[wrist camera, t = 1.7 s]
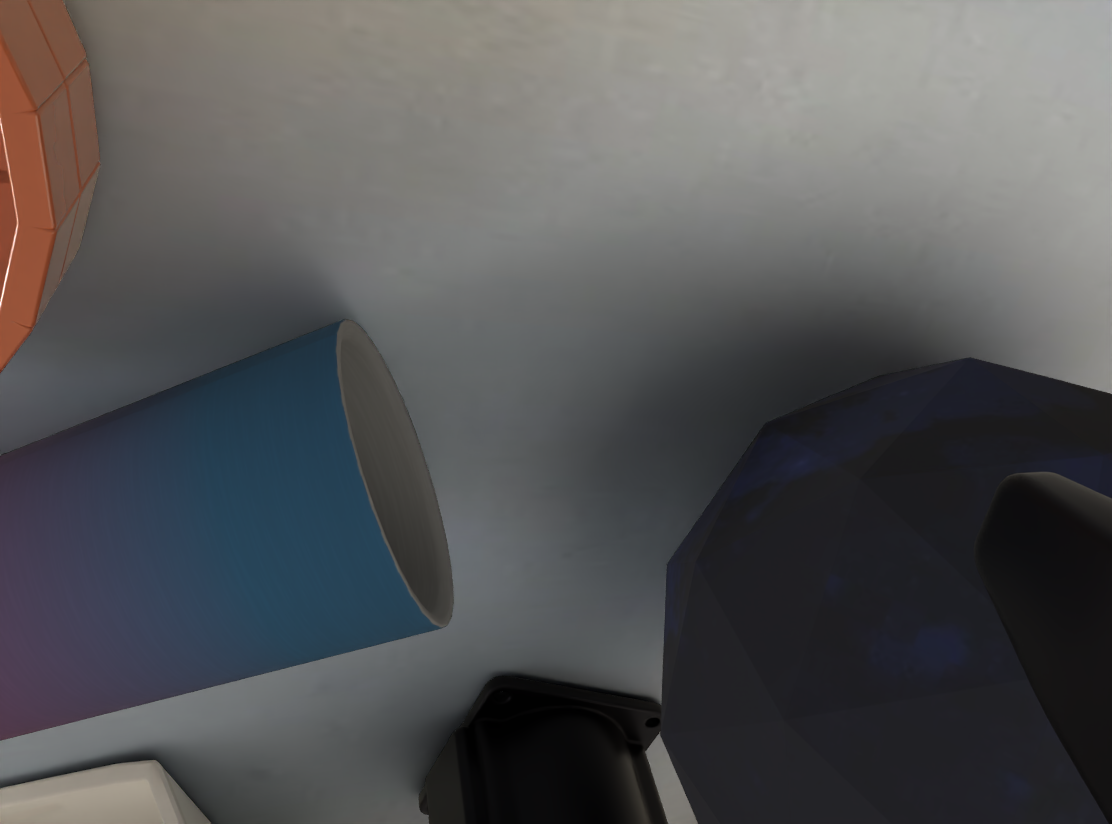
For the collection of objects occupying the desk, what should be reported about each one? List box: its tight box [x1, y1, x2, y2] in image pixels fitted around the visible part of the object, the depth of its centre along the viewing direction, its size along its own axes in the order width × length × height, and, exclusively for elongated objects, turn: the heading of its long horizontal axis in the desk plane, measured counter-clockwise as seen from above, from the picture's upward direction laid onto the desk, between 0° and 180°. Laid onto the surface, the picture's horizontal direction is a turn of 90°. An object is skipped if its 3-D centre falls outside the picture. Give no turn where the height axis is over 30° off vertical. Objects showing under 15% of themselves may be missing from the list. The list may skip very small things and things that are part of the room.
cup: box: [0, 319, 454, 741], centre depth 20 cm, size 7×7×15 cm
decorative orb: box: [660, 358, 1112, 824], centre depth 22 cm, size 14×15×15 cm
